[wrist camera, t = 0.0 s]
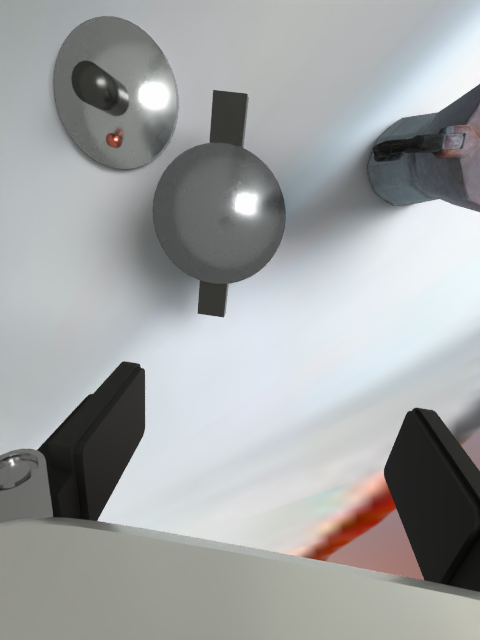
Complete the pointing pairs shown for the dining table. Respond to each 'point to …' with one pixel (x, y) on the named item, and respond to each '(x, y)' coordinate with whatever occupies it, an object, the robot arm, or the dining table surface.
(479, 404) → the dining table surface
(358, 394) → the dining table surface
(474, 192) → the moka pot
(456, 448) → the robot arm
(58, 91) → the lid
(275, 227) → the cooker pot
